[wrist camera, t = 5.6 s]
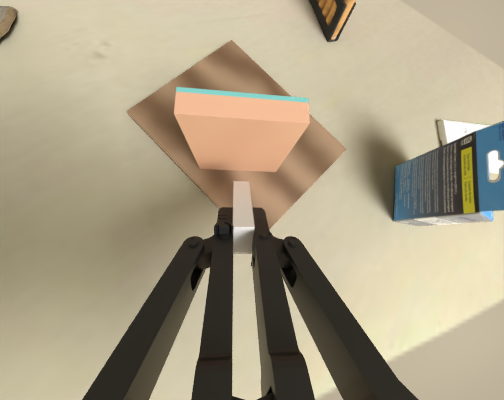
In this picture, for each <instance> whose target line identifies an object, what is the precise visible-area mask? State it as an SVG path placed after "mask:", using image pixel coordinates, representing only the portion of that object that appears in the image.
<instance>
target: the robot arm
mask: <svg viewBox="0 0 504 400" xmlns="http://www.w3.org/2000/svg"><path fill="white" fill-rule="evenodd" d="M233 254H252V262H251V266H252V268H253V280H254V292H255V303H256V315H257V327H258V339H259V351H260V363H261V392H262V397H261V398H259V399H257V400H315V398H314V394H313V390H312V386H311V382H310V377H309V373H308V369H307V365H306V362H305V359H304V357H303V355H302V354H301V352H300V351H299V349H298V345H297V341H296V336H295V332H294V327H293V323H292V319H291V314H290V310H289V305H288V301H287V297H286V292H285V288H284V283H283V279H284V281H285V283H286V285H287V287H288V289H289V291H290V293H291V295H292V297H293V299H294V301H295V303H296V305H297V307H298V309H299V312H300V314H301V316H302V318H303V320H304V322H305V324H306V326H307V328H308V330H309V332H310V334H311V336H312V338H313V340H314V342H315V344H316V346H317V348H318V350H319V352H320V354H321V356H322V358H323V360H324V362H325V364H326V366H327V368H328V370H329V372H330V374H331V376H332V378H333V380H334V382H335V384H336V386H337V388H338V390H339V392H340V394H341V396H342V398H343V399H344V400H418V399H417V398H416V397H415V396H414V395H413V394H412V393H411V392H410V391H409V390H408V389H407V388H406V387H405V386H404V385H403V384H402V383H401V382H400V381H399V380H398V379H397V377H396V376H395V374H394V373H393V372H392V370H391V369H390V367H389V366H388V364H387V363H386V362H385V360H384V359H383V357H382V356H381V354H380V353H379V352H378V350H377V349H376V347H375V346H374V345H373V343H372V342H371V340H370V339H369V337H368V336H367V335H366V333H365V332H364V330H363V329H362V328H361V326H360V325H359V323H358V322H357V320H356V319H355V318H354V316H353V315H352V313H351V312H350V310H349V309H348V308H347V306H346V305H345V303H344V302H343V301H342V299H341V298H340V296H339V295H338V293H337V292H336V291H335V289H334V288H333V286H332V285H331V284H330V282H329V281H328V279H327V278H326V276H325V275H324V274H323V272H322V271H321V269H320V268H319V267H318V265H317V264H316V262H315V261H314V259H313V258H312V257H311V255H310V254H309V252H308V251H307V250H306V248H305V247H304V245H303V244H302V242H301V241H300V240H299V239H297V238H296V237H292V236H290V237H286V238H285V239H284V240H282V239H278V238H276V237H274V236H273V235H272V233H270V231H269V226H268V222H267V217H266V213H265V210H264V209H263V208H257V207H252V202H251V194H250V186H249V182H246V181H234V187H233V207H221V208H220V210H219V212H218V219H217V223H216V224H215V226H214V235H213V236H212V237H210V238H208V239H204V240H203V239H202V238H200V237H197V236H193V237H190V238H188V239H186V240H185V241H184V243H183V244H182V246H181V247H180V249H179V250H178V252H177V254H176V255H175V257H174V258H173V260H172V261H171V263H170V264H169V266H168V267H167V269H166V271H165V272H164V274H163V275H162V277H161V278H160V280H159V281H158V283H157V285H156V286H155V288H154V289H153V291H152V292H151V294H150V295H149V297H148V299H147V300H146V302H145V303H144V305H143V306H142V308H141V309H140V311H139V313H138V314H137V316H136V317H135V319H134V320H133V322H132V323H131V325H130V326H129V328H128V330H127V331H126V333H125V334H124V336H123V337H122V339H121V340H120V342H119V344H118V345H117V347H116V348H115V350H114V351H113V353H112V354H111V356H110V358H109V359H108V361H107V362H106V364H105V365H104V367H103V368H102V370H101V371H100V373H99V375H98V376H97V378H96V379H95V381H94V382H93V384H92V385H91V387H90V389H89V390H88V392H87V393H86V395H85V396H84V398H83V399H82V400H149V398H150V396H151V394H152V391H153V389H154V387H155V384H156V382H157V380H158V377H159V375H160V373H161V371H162V368H163V366H164V364H165V361H166V359H167V357H168V355H169V352H170V350H171V348H172V345H173V343H174V341H175V338H176V336H177V334H178V332H179V329H180V327H181V325H182V322H183V320H184V318H185V316H186V313H187V311H188V309H189V306H190V304H191V302H192V299H193V297H194V295H195V293H196V290H197V288H198V286H199V283H200V281H201V279H202V277H203V274H204V272H205V269H206V268H209V267H210V275H209V283H208V290H207V298H206V306H205V314H204V322H203V330H202V337H201V345H200V353H199V358H198V361H197V365H196V370H195V377H194V385H193V392H192V399H191V400H244V399H240V398H237V397H234V396H232V315H233ZM282 277H283V279H282Z"/></svg>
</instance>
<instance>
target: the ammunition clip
mask: <svg viewBox="0 0 504 400" xmlns="http://www.w3.org/2000/svg"><path fill="white" fill-rule="evenodd" d="M309 1H310V3H311V5H312V7H313V10H314V12H315V14H316V17H317V19H318V21H319V24H320V26H321V28H322V31H323V33H324V35H325V37H326V40H327V42H331V41H337V40H338V38H339V36H340V34H341V32H342V30H343V28H344V26H345V24H346V22H347V20H348V18H349V17H350V15H351V13H352V11H353V9H354V7H355V5H356V3H355V0H309Z"/></svg>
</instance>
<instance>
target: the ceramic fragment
mask: <svg viewBox="0 0 504 400" xmlns="http://www.w3.org/2000/svg"><path fill="white" fill-rule="evenodd" d="M16 14H17V11H16V9H15V8H13V7H9V6H0V38H1V37H2V36H3V35H5V34H6V33H7V32H8V31H9V29H10V27H11V25H12V23H13V21H14V20H15V17H16V16H17V15H16Z"/></svg>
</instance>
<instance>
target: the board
mask: <svg viewBox="0 0 504 400" xmlns="http://www.w3.org/2000/svg"><path fill="white" fill-rule="evenodd" d="M176 87H184V88H195V89H207V90H219V91H230V92H242V93H253V94H265V95H277V96H288V97H291V96H290V95H289V94H288V93H287V92H286V91H285V90H284V89H283V88H282V87H281V86H280V85H279V84H278V83H276V82H275V81H274V80H273V79H272V78H271V77H270V76H269V75H268V74H267V73H266V72H265V71H264V70H263V69H262V68H261V67H260V66H259V65H258V64H256V63H255V62H254V61H253V60H252V59H251V58H250V57H249V56H248V55H247V54H246V53H245V52H244V51H243V50H242V49H241V48H240V47H239V46H238V45H236V44H235V43H234V42H233V41H232V40H231V41H230V42H228V43H227V44H225V45H224V46H222V47H221V48H219V49H218V50H216V51H215V52H213V53H212V54H211V55H209V56H208V57H206V58H205V59H203V60H202V61H200V62H199V63H197V64H196V65H194V66H193V67H191V68H190V69H188V70H187V71H185V72H184V73H183V74H181V75H180V76H178V77H177V78H175V79H174V80H172V81H171V82H169V83H168V84H166V85H165V86H163V87H162V88H160V89H159V90H158V91H156V92H155V93H153V94H152V95H150V96H149V97H147V98H146V99H144V100H143V101H141V102H140V103H138V104H137V105H135V106H134V107H132V108H131V109H130V110H128V111H127V113H128V114H129V116H130V117H131V118H132V119H133V120H134V121H135V122H136V123H137V124H138V125H139V126H140V127H141V128H142V129H143V130H144V131H145V132H146V133H147V134H148V135H149V136H150V137H151V138H152V139H153V140H154V142H155V143H156V144H157V145H158V146H159V147H160V148H161V149H162V150H163V151H164V152H165V153H166V154H167V155H168V156H169V157H170V158H171V159H172V160H173V161H174V162H175V163H176V164H177V165H178V166H179V167H180V168H181V169H182V170H183V172H184V173H185V174H186V175H187V176H188V177H189V178H190V179H191V180H192V181H193V182H194V183H195V184H196V185H197V186H198V187H199V188H200V189H201V190H202V191H203V192H204V193H205V194H206V195H207V196H208V197H209V198H210V199H211V200H212V202H213V203H214V204H215V205H216V206H217V207H218V208H219V209H220V208H221V207H233V187H234V181H246V182H249V186H250V194H251V202H252V207H257V208H263V209H264V210H265V213H266V217H267V222H268V226H269V229H270V228H271V227H272V226H273V225H274V224H275V223H276V222H277V221H278V220H279V219H280V218H281V217H282V216H283V215H284V214H285V213H286V211H287V210H288V209H289V208H290V207H291V206H292V205H293V204H294V203H295V202H296V201H297V200H298V199H299V198H300V197H301V196H302V195H303V194H304V193H305V192H306V191H307V190H308V189H309V188H310V187H311V186H312V185H313V183H314V182H315V181H316V180H317V179H318V178H319V177H320V176H321V175H322V174H323V173H324V172H325V171H326V170H327V169H328V168H329V167H330V166H331V165H332V164H333V163H334V162H335V161H336V160H337V159H338V158H339V157H340V155H341V154H342V153H343V152H344V151H345V150H346V148H345V147H344V146H343V145H342V144H341V143H340V142H339V141H337V140H336V139H335V138H334V137H333V136H332V135H331V134H330V133H329V132H328V131H327V130H326V129H325V128H324V127H323V126H322V125H321V124H320V123H319V122H317V121H316V120H315V119H314V118H313V117H312V116H311V115H310V114H309V118H310V124H309V125H308V127H307V128H306V130H305V131H304V132H303V134H302V135H301V137H300V138H299V140H298V141H297V142H296V144H295V145H294V147H293V148H292V150H291V151H290V153H289V154H288V155H287V157H286V158H285V160H284V161H283V163H282V164H281V165H280V167H279V168H278V170H277V171H276V172H263V171H239V170H214V169H200V168H199V166H198V164H197V162H196V160H195V157H194V155H193V153H192V151H191V149H190V147H189V145H188V143H187V140H186V138H185V136H184V134H183V132H182V130H181V128H180V126H179V124H178V121H177V119H176V117H175V115H174V107H175V97H176Z"/></svg>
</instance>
